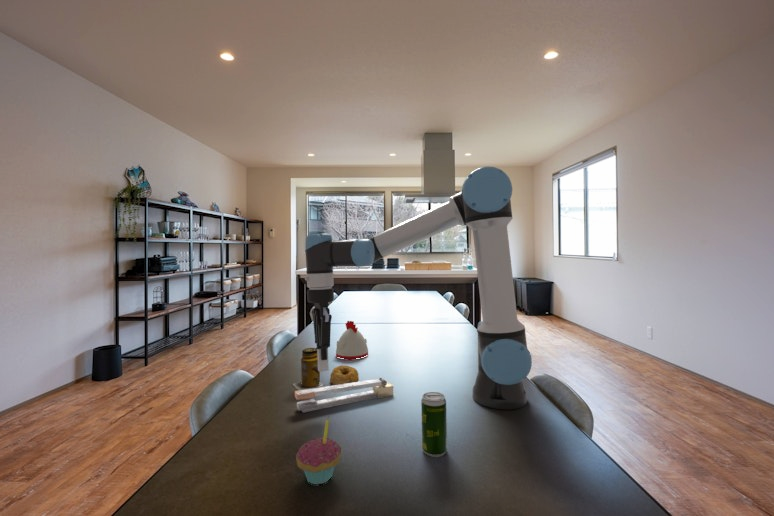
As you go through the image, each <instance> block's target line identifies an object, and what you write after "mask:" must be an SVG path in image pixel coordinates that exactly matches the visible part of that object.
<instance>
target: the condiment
mask: <svg viewBox="0 0 774 516" xmlns="http://www.w3.org/2000/svg"><path fill="white" fill-rule="evenodd" d="M301 354H302V357H301V359H300V363H301V364H300V365H301V367H300V368H301V370H300V371H301V382H296V383H292V386H293V387H295V389H296V390H297V391H299V390H305V389H314V388H320V387H325V385H324V383H322V382H321V380H320V379H321V375H320V374H321V372H319V371H318V356H317V349H316V347H307V348H304V349H303V350H302V351H301ZM319 382H320V383H319ZM301 383H302V384H301ZM320 384H321V385H320ZM319 385H320V386H319Z"/></svg>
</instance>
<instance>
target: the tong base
mask: <svg viewBox="0 0 774 516" xmlns="http://www.w3.org/2000/svg"><path fill="white" fill-rule="evenodd" d="M392 396H394V385H393V384H391V383H390V381H387V385H385V386H384V385H383V384H382V386H376V387H372V390H371V389H370V390H367V391H366V390H365V391H361V392H355V393H351V394H345V395H341V396H335V397H330V398H325V399H320V400H319V399H318V400H315V398H310V399H305V400H301V401H300V400H299V401H297V402H296V408H297V410H298V412H300V411H301V412H302V413H308V412H312V411H313V412H314V411H319V410H322V409H323V410H324V409H328V408H332V407H337V406H343V405H348V404H352V403H358V402H362V401H367V400H373V399H383V398H389V397H392Z"/></svg>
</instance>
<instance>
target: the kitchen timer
mask: <svg viewBox="0 0 774 516" xmlns="http://www.w3.org/2000/svg"><path fill="white" fill-rule="evenodd" d="M344 325H345V328H346V330H345V331H344V332H343V333H342V334H341V336H340V337H339V340H337V341H336V350H335V357H336V356H337V357H340V358H344V359H356V358H361V357H364V356H366V355H368V356H369V348H368V344H367V343H368V341H367V338H365V337H364V335H363V334H362V333H361V332H360V330H358V329H359V328H358V327H356V326H357V325H356V324H355V323H354V321H352V320H347V321H346V323H345V324H344ZM337 357H336V358H337Z"/></svg>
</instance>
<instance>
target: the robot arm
mask: <svg viewBox="0 0 774 516" xmlns="http://www.w3.org/2000/svg"><path fill="white" fill-rule="evenodd" d="M463 181H464V182H463V184H462V189H461V191H459V192H458V193H455V194H454V195H452V196H450V197H449V200H448V201H447V202H445V203H442V204H440V205H438V206H436V207H434V208H432V209H429V210H427V211H425V212H423V213H420V214H418V215H416V216H413V217H412V218H410V219H407V220H405V221H403V222H401V223H399V224H397V225H395V226H393V227H390V228H388V229H386V230H383V231H382V232H379V233H377V234H375V235H373V236H369V237H368V238H356V239H340V240H335V239H334V240H333V237H332V234H329V233H310V234H308V235H307V236H306V237H305V249H304V250H305V251H304V252H305V266H306V267H305V268H306V276H305V277H304V280H305V281H306V288H309V289H307V291H306V296H307V297H306V299H307V302H308V303H310V304H314V306H313V308H312V310H311V314H312V320H313V322H312V323H313V324H312V325H313V331H314V332H313V335H314V344H316V347H315V348H316V349H317V356H318V371H319V372H320V373H321V372H327V371H329V370H330V368H329V348H330V347H331V325H332V324H331V322H332V314H330V313H331V312H330V308H329V305H328V304H329V303H331V302H333V301H334V300H335V291H334V289H335V288H333V286H334V285H335V284H334V282H335V281H334V280H335V279H334V267H335V268H337V267H338V268H339V267H367V266H372V265H373V264H375V263H376V262H377V261H380V260H382V259H384V258H386V257H388V256H390V255H393V254H395V253H398V252H399V251H402V250H403V249H406V248H409V247H411V246H413V245H415V244H419V243H420V242H422V241H424V240H427V239H429V238H431V237H433V236H436V235H438V234H440V233H442V232H445V231H447V230H449V229H452V228H454V227H457V226H462V227H464V226H467V227H468V228H470V229H471V230H472V237H473V246H474V247H473V248H474V254H475V263H476V273H477V282H478V290H479V291H478V292H479V299H480V307H481V308H480V310H481V317H482V320H480V321H479V322H478V324H477V329H476V333H477V363H478V365H477V367H478V368H477V370H478V372H477V374H476V378H475V382H474V385H473V387H472V399H473V400H474V401H475V402H476V403H478V404H479V405H482V406H484V407H487V408H490V409H497V410H517V409H520V408H522V407H523V408H524V406H526V405H527V403H528V401H527V400H528V399H527V392H526V390H525V388H524V384H523V381H524V380H525V379H526V378H527V377H528V375H530V373H531V371H532V370H531V369H532V355H531V351H530V350H529V349H528V344H527V334H526V326H525V325H524V324H523V323H522V322H520V321H519V319H518V312H517V303H516V295H515V294H516V293H515V286H514V278H513V277H514V276H513V268H512V260H511V249H510V241H509V240H510V239H509V233H508V232H509V231H508V225H509V224H510V223H511V222H512V220H513V212H512V202H511V198H512V195H513V184H512V181H511V178H510V177H509V175H508V174H507V173H506V172H505V171H503V170H502V169H501V168H498V167H496V166H490V165H487V166H482V167H478V168H476V169H474V170H473V171H471V173H469V175H467V177H466V178H465V180H463Z"/></svg>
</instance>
